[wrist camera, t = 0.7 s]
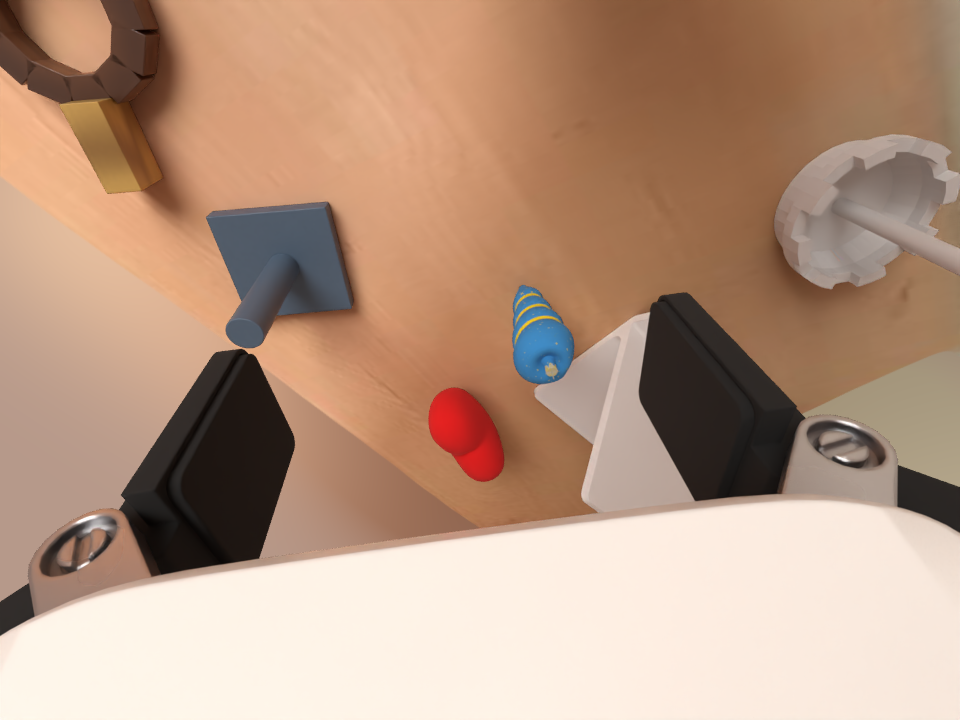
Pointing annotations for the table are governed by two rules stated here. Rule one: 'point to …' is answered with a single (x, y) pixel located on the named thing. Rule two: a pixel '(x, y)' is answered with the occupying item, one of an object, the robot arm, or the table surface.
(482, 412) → the heart
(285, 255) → the peg rack
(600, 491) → the tablet stand
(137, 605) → the robot arm
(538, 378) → the ornament
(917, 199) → the flag stand
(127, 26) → the walnut ring
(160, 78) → the table surface
